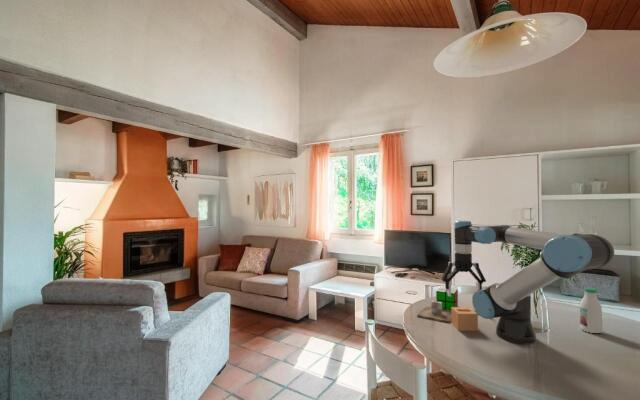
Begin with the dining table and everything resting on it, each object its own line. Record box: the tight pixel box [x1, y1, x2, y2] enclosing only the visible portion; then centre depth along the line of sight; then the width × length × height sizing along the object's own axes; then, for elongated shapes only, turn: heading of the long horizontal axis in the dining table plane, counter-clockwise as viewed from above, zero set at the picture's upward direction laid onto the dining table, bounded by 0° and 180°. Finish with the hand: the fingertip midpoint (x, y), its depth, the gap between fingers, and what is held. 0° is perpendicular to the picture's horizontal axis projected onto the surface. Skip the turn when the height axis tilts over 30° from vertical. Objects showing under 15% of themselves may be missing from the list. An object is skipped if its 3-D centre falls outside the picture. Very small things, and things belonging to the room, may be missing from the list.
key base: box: [416, 300, 451, 324], centre depth 165 cm, size 16×16×7 cm
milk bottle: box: [579, 286, 603, 334], centre depth 143 cm, size 8×8×20 cm
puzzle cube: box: [435, 286, 459, 311], centre depth 177 cm, size 10×10×10 cm
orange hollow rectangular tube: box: [450, 306, 479, 332], centre depth 149 cm, size 9×9×8 cm
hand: (463, 296), depth 149 cm, fingers open, 13 cm apart
